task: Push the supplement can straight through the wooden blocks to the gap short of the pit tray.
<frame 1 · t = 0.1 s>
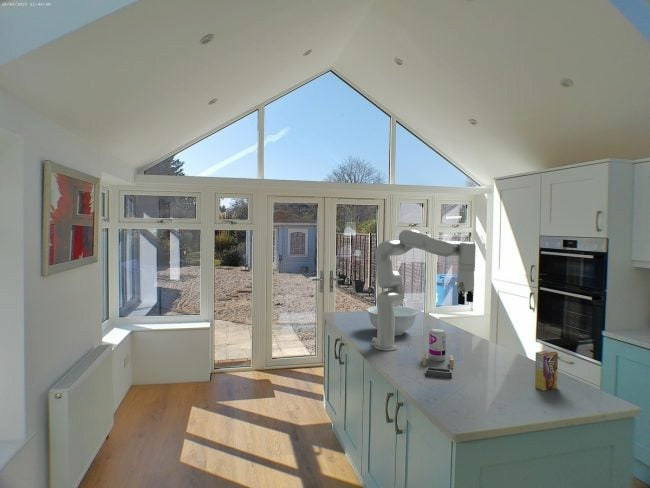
hand: (465, 303, 196), 31 cm above the worktop, fingers open, 9 cm apart
candy box: (545, 388, 173), on the worktop
supplement can: (436, 359, 208), on the worktop
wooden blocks: (437, 364, 200), on the worktop
bowl: (391, 332, 261), on the worktop
pit tray: (438, 375, 185), on the worktop
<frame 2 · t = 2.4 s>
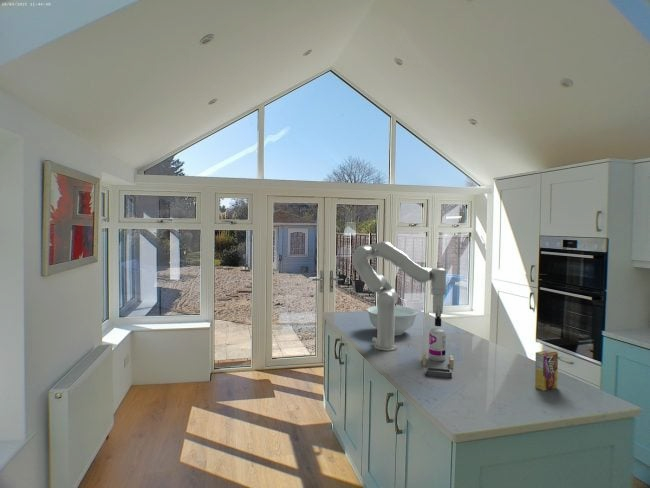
hand: (438, 325, 217), 15 cm above the worktop, fingers closed
nothing on the worktop moved.
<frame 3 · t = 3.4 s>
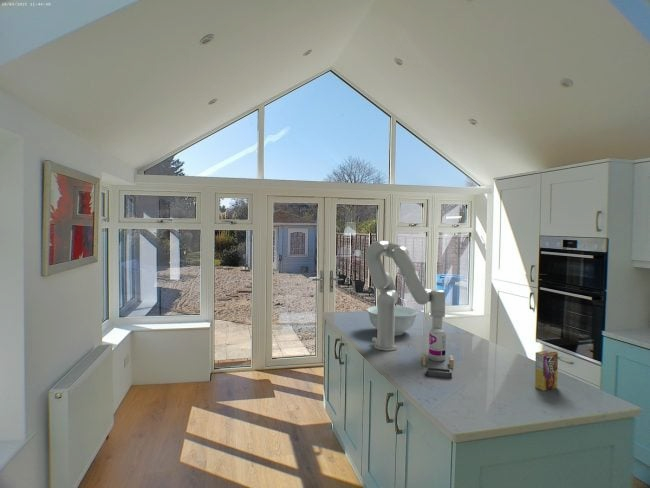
hand: (437, 347, 217), 3 cm above the worktop, fingers closed
nothing on the worktop moved.
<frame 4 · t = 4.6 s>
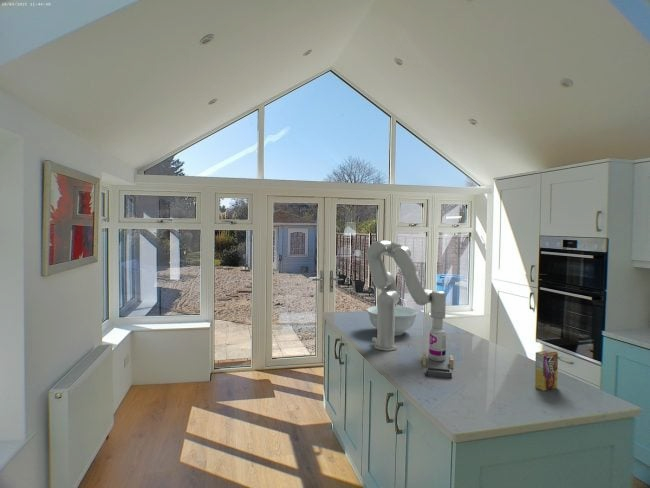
hand: (437, 349, 215), 3 cm above the worktop, fingers closed
supplement can: (436, 359, 208), on the worktop, touching gripper
everything else where it was.
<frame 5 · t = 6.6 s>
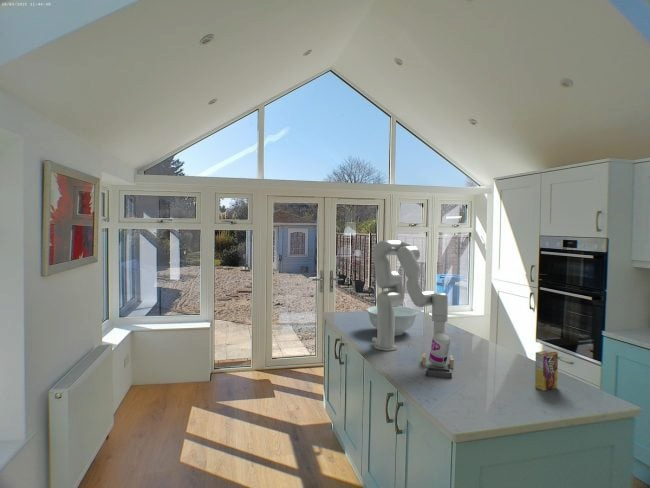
hand: (439, 354, 204), 4 cm above the worktop, fingers closed
supplement can: (437, 362, 200), point 1 cm above the worktop, touching gripper
everything else where it was.
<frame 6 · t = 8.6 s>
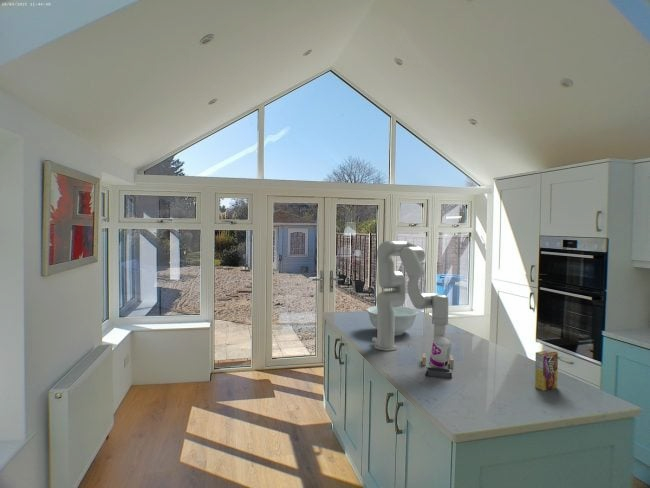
hand: (439, 358, 197), 4 cm above the worktop, fingers closed
supplement can: (437, 367, 193), point 1 cm above the worktop, touching gripper
everything else where it was.
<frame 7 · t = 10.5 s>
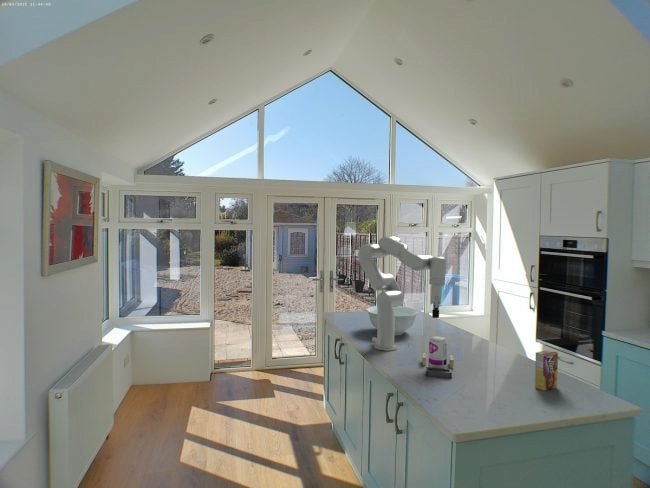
hand: (435, 317, 205), 22 cm above the worktop, fingers closed
supplement can: (437, 369, 193), on the worktop
everything else where it was.
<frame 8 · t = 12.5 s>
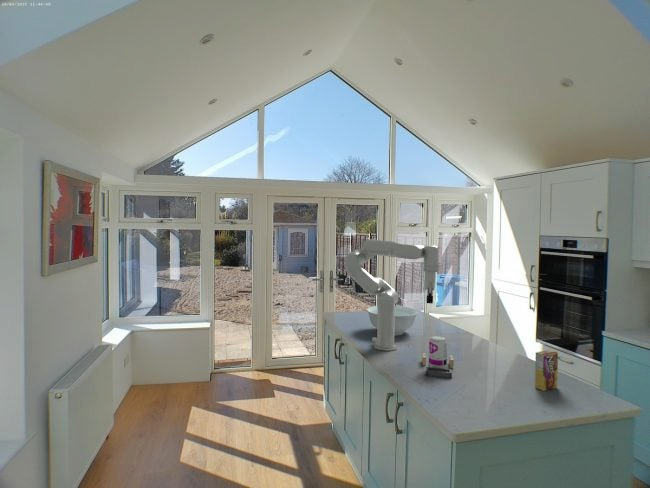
hand: (429, 303, 217), 27 cm above the worktop, fingers closed
nothing on the worktop moved.
at the end: supplement can inside the target area (0.5 cm from its centre), on the worktop; supplement can tilted 0°; supplement can touching worktop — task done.
